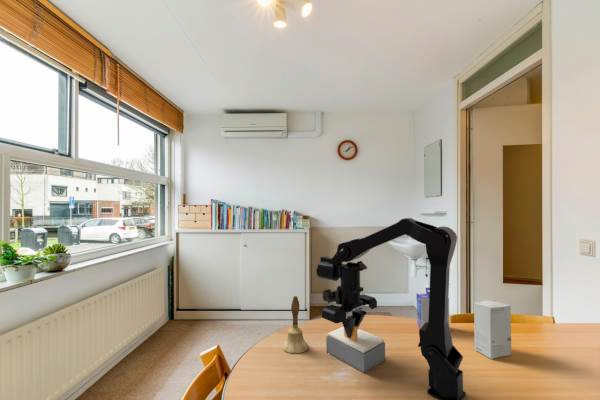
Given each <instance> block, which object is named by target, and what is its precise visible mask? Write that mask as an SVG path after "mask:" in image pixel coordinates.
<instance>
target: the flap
mask: <svg viewBox="0 0 600 400" xmlns="http://www.w3.org/2000/svg"><path fill="white" fill-rule="evenodd" d="M326 336H330V337H332V338H334V339H336V340H338V341H340V342H342V343H344V344H346V345H348V346H350V347H352V348H354V349H357V350H359V351H361V352H363V353H365V352H366V351H368V350H370V349H372V348H374V347H375V346H377V345H379V344H381V343H382V342H385V339H384V338H382V337H379V336H376V335H375V334H372V333H370V332H367V331H365V330H362V329H360V328H358V329H357V326H355V325H354V328H353V332H352V336H351V338H348V337H347V335H346V332H345V329H344V326H343V325H342V326H341V327H339V328H336V329H335V330H331V331H330V332H327V335H326Z"/></svg>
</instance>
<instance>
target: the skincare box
mask: <svg viewBox="0 0 600 400" xmlns="http://www.w3.org/2000/svg"><path fill="white" fill-rule="evenodd" d="M473 311H474V312H473V317H474V321H473V322H474V323H473V325H474V328H473V329H474V330H473V331H474V339H473V340H474V350H475V351H476V352H478V353H480V354H482V355H483V356H485V357H487V358H488V359H491V360H493V359H496V358H497V359H498V358H500V357H507V356H512V324H511V323H512V322H511V314H512V313H511V305H510V304H507V303H503V302H501V301H497V300H494V299H493V300H482V301H474V302H473Z"/></svg>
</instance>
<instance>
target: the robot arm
mask: <svg viewBox="0 0 600 400" xmlns="http://www.w3.org/2000/svg"><path fill="white" fill-rule="evenodd" d="M405 235H406V236H408V237H409V238H412V239H413V240H414V241H416V242H419V243H421V244H423V245H425V251H426V255H427V259H428V261H429V265H430V266H429V267H430V269H429V288H430V290H428V292H429V317H428V323H427V322H425V324H424V325H423V326H422V327H421V328H420V329H419V330H418V336H419V341H418V342H419V343H418V345H417V347H418V348H420V353H421V356H422V357H423V358H424V359H425V360H426V362H427V364H428V368H429V369H428V370H427V372H428V387H429V388H428V389H427V390H426V391H427V392H426V393H427V394H429V395H430V396H432V397H434V398H436V399H438V400H464V398H465V397H466V395H467V393H466V391H464V378H463V377H464V374H463V373H464V371H463V370H461V369H460V366H461V363H462V361H463V360H464V359H463V358H464V357H463V356H464V355H462V353H461V352H459V350H458V349H457V348H456V347H455V346H454V345H453V339H452V331H451V329H450V324H449V325H448V298H449V290H450V271H451V270H450V268H451V262H452V260H453V257H454V253H455V249H456V245H457V242H458V236H457V233H456V232H455V231H454V230H453V229H452V228H450V227H449V226H439V227H438V226H435V225H433V224H429V223H425V222H422V221H420V220H419V221H418V220H416V219H414V218H412V217H406V218H401V219H400V220H398V221H396V222H395V223H392V224H390V225H388V226H385V227H383V228H381V229H379V230H377V231H374V232H372V233H370V234H367V235H366V236H364V237H359V238H355V239H352V240H351V239H350V240H346V241H341V242H340V243H339V244H338V245H337V249H336V253H335V254H334V255H333V257H329V256H327V255H323V256H320V261H319V262H318V264H317V266H316V267H317V268H316V276H317V277H318V278H320V279H323V280H328V281H333V282H334V281H335V282H337V281H338V280H340V285H338V286H337V287H336V289H334V290H331V289H330V288H329V289H328V288H327V289H325V290H323V291H322V300H323V301H324V302H327V304H330V305H328V306H325V307H323V308H322V309H321V318H322V319H325V320H327V321H329V322H331V323H333V324H339V323H341V324H342V327H343V326H344V329H345V332H346V335H347V337H348V338H351V336H352V332H353V328H354V325H355V326H357V329H359V328H360V325H361V323H362V321H363V320H364V318H365V317H366V315H367V313H368V312H367V311H366V310H364V308H363V307H365V306H367V305H368V307H369V309H370V310H373V309H374V310H375V309H376V308H378V300H377V299H376V298H375V297H374V296H370V295H367V294H363V293H361V292H364V287H363V286H361V272H362V271H364V270H367V269H368V266H367V265H366V264H365V263H364V262H363V261H362V260H358V259H360V258H362V256H364V255H366V254H367V253H368V252H369V251H371V250H372V249H374V248H377V247H379V246H381V245H383V244H386V243H388V242H392V241H393V240H395V239H398V238H400V237H403V236H405ZM354 260H358V261H357V262H353V261H354ZM331 303H335V304H336V305H334V304H331ZM337 305H338V306H337ZM339 305H340V306H339Z"/></svg>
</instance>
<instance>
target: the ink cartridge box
mask: <svg viewBox="0 0 600 400" xmlns="http://www.w3.org/2000/svg"><path fill="white" fill-rule="evenodd" d="M429 290H430V287H425V293H416V313H417V314H416V316H417V322H416V323H417V328H418V329H419V330H420V328H421V327H422V326H423V325H424V324H425V322H427V323H428V317H429ZM448 325H449V326H450V298H449V297H448Z"/></svg>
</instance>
